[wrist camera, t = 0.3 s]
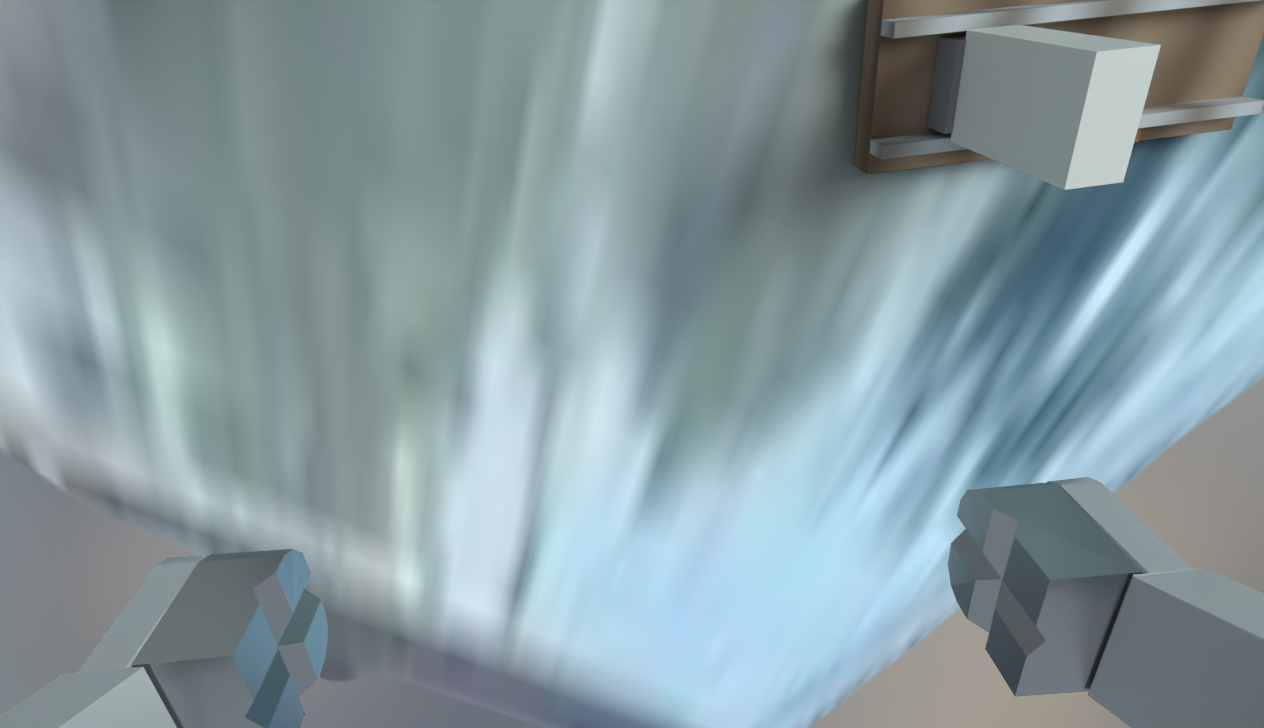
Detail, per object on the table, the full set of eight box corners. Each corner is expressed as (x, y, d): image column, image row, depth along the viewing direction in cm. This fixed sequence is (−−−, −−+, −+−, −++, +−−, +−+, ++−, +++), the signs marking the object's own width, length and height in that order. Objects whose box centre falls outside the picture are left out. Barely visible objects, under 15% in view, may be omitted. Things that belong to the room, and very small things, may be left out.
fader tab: (926, 135, 44) (1054, 190, 34) (939, 27, 41) (1086, 52, 31) (987, 128, 44) (1132, 180, 34) (1005, 20, 41) (1171, 43, 31)
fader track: (853, 165, 46) (879, 181, 43) (868, -8, 41) (898, -5, 38) (1205, 123, 49) (1252, 134, 46) (1259, -46, 44) (1316, -46, 41)
